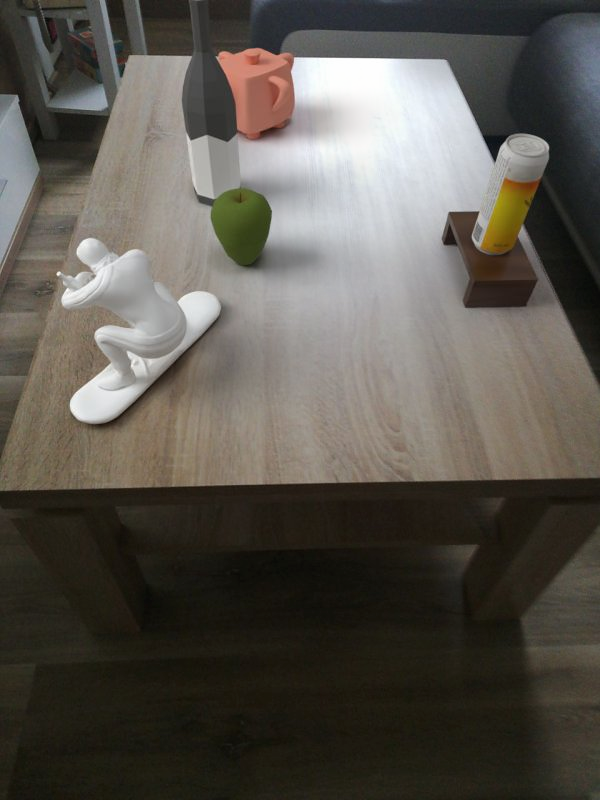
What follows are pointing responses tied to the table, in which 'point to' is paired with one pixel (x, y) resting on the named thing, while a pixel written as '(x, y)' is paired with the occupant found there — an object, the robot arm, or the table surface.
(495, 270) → the shelf
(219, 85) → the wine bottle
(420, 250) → the table surface
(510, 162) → the beer can
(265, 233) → the apple
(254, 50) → the teapot
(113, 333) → the figurine
